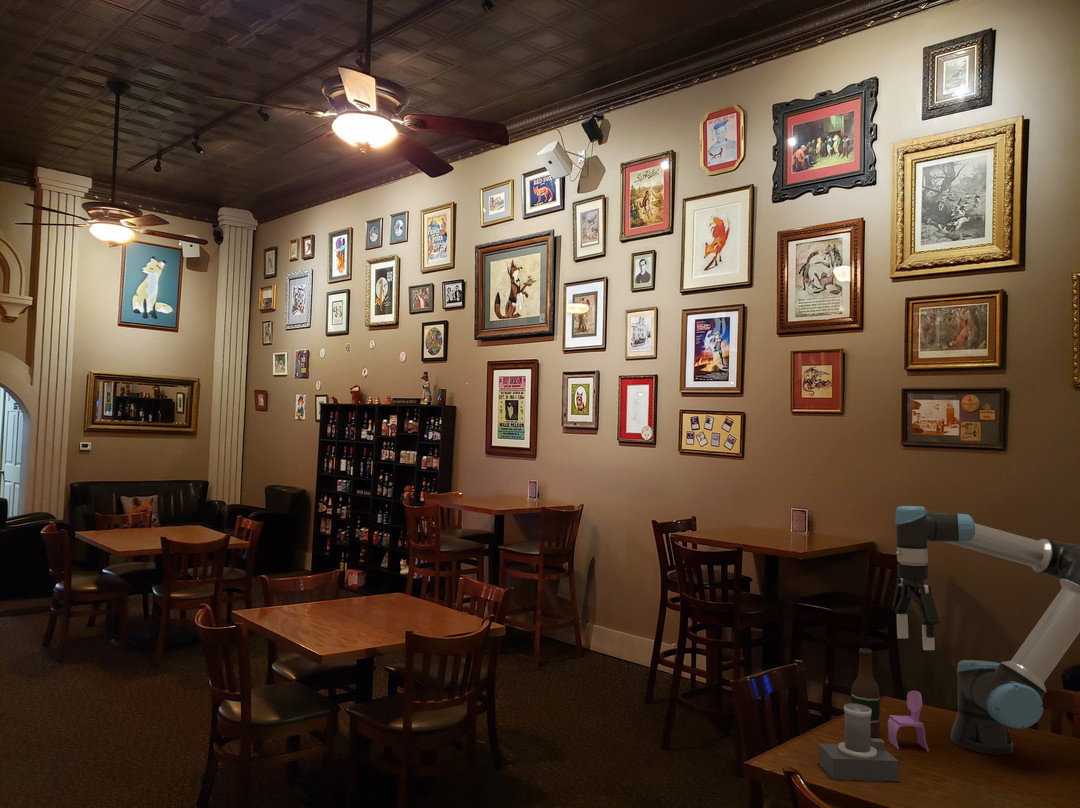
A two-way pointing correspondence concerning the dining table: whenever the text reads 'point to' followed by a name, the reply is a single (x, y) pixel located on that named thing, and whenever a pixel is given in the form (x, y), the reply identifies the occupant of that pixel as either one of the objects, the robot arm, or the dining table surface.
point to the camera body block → (858, 762)
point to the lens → (857, 727)
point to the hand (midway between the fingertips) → (915, 643)
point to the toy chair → (908, 720)
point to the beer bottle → (867, 690)
